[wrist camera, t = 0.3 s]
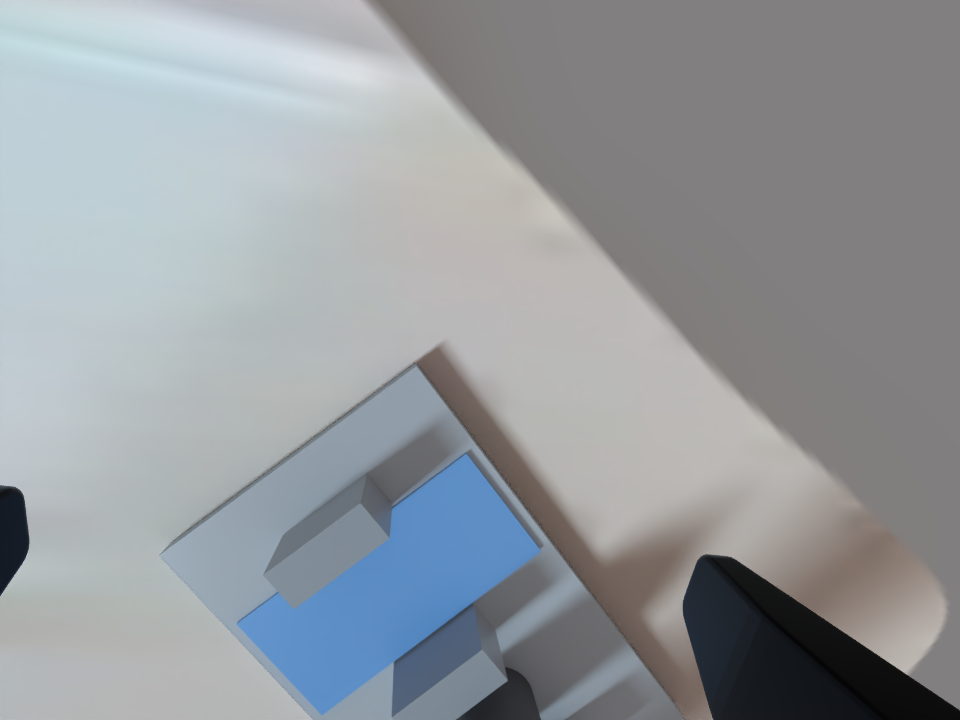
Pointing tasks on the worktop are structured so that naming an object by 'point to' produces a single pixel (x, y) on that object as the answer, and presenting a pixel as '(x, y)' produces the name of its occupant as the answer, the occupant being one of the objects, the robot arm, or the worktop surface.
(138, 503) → the worktop surface
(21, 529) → the robot arm
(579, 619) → the lever switch plate
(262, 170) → the worktop surface
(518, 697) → the knob
